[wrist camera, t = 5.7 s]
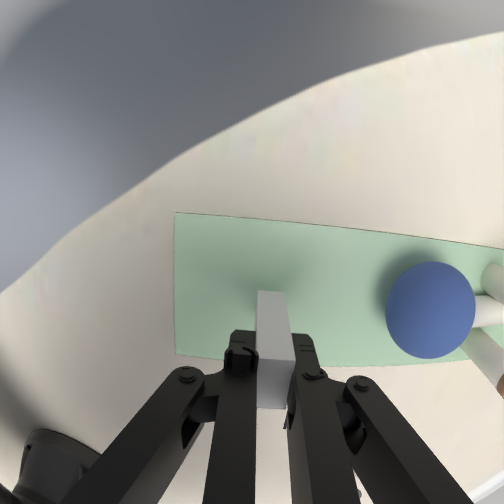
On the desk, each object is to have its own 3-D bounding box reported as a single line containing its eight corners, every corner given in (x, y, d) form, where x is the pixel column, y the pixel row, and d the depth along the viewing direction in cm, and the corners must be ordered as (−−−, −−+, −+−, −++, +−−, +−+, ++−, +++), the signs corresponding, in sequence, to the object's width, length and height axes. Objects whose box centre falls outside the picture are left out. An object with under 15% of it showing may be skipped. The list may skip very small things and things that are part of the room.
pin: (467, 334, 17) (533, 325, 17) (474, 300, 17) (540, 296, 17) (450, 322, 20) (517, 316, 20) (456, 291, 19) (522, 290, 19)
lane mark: (176, 352, 21) (175, 354, 21) (175, 212, 18) (174, 212, 18) (514, 351, 21) (515, 352, 21) (546, 257, 18) (548, 257, 18)
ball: (468, 347, 17) (395, 332, 21) (483, 262, 16) (405, 253, 20) (457, 384, 12) (364, 361, 17) (481, 274, 12) (376, 260, 16)
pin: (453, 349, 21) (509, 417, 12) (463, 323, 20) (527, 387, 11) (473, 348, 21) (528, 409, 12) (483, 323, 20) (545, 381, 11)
